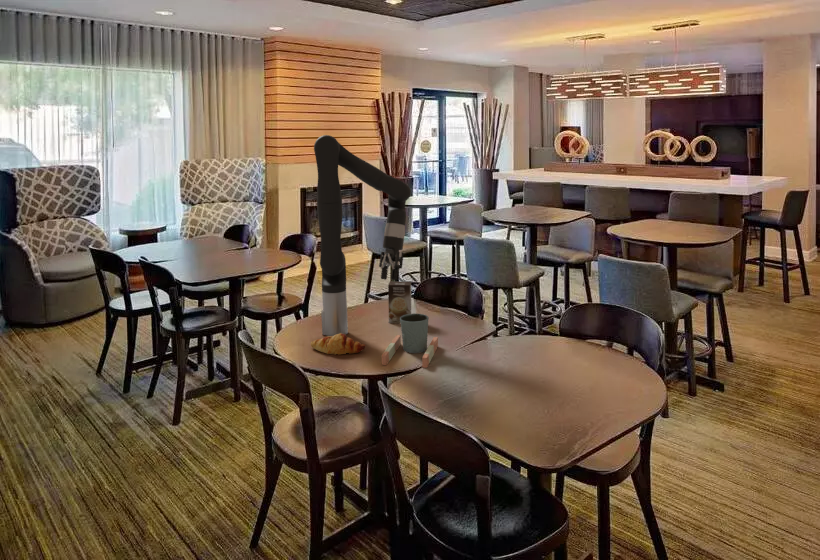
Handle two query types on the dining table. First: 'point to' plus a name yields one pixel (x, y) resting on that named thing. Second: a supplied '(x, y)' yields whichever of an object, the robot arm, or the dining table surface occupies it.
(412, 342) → the grey green cup
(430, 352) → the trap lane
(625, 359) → the dining table surface
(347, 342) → the croissant
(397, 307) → the coffee box
